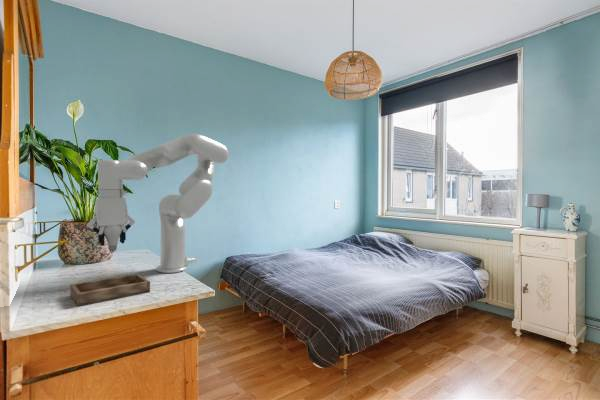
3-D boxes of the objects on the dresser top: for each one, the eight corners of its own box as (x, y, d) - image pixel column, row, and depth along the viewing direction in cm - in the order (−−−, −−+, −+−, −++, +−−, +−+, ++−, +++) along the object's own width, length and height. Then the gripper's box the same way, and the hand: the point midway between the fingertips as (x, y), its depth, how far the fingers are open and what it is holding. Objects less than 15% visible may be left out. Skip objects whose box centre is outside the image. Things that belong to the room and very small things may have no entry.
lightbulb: (126, 250, 117) (125, 221, 117) (114, 254, 111) (114, 223, 111) (110, 249, 118) (109, 220, 117) (98, 253, 112) (97, 222, 111)
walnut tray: (138, 283, 114) (138, 273, 114) (149, 291, 105) (150, 281, 105) (70, 295, 100) (70, 284, 100) (77, 306, 91) (77, 294, 91)
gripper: (133, 193, 122) (134, 239, 123) (80, 194, 110) (82, 245, 111) (140, 194, 117) (141, 242, 118) (84, 195, 105) (86, 249, 106)
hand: (112, 243), depth 114 cm, fingers closed on lightbulb, 5 cm apart
